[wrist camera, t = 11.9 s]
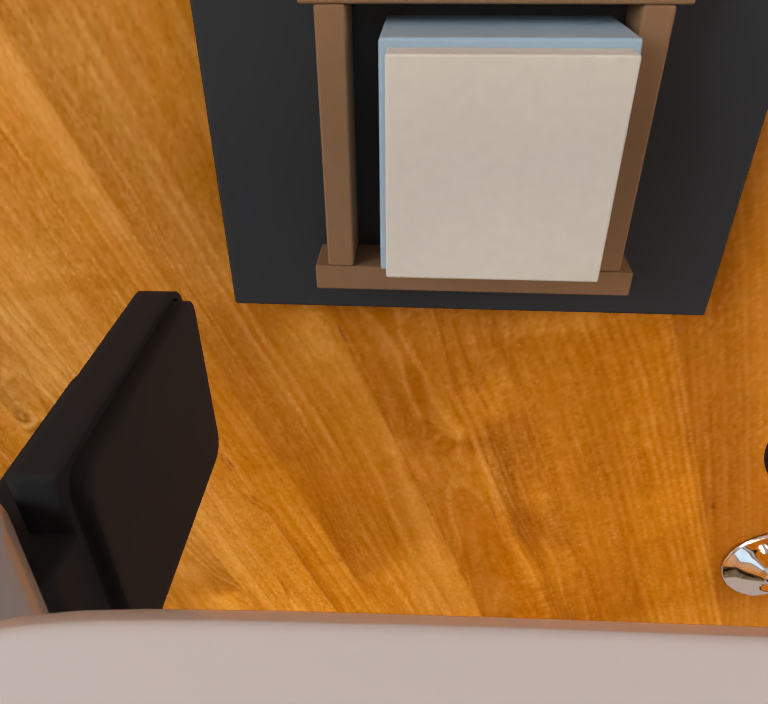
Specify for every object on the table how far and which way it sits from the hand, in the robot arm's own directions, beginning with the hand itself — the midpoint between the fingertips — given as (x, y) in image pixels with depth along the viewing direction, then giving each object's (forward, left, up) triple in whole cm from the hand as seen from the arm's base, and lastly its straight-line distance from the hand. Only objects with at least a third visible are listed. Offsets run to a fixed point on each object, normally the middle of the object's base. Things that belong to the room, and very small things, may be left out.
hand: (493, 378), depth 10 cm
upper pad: (+1, 0, -12) cm, 12 cm away
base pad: (0, 0, -13) cm, 13 cm away
